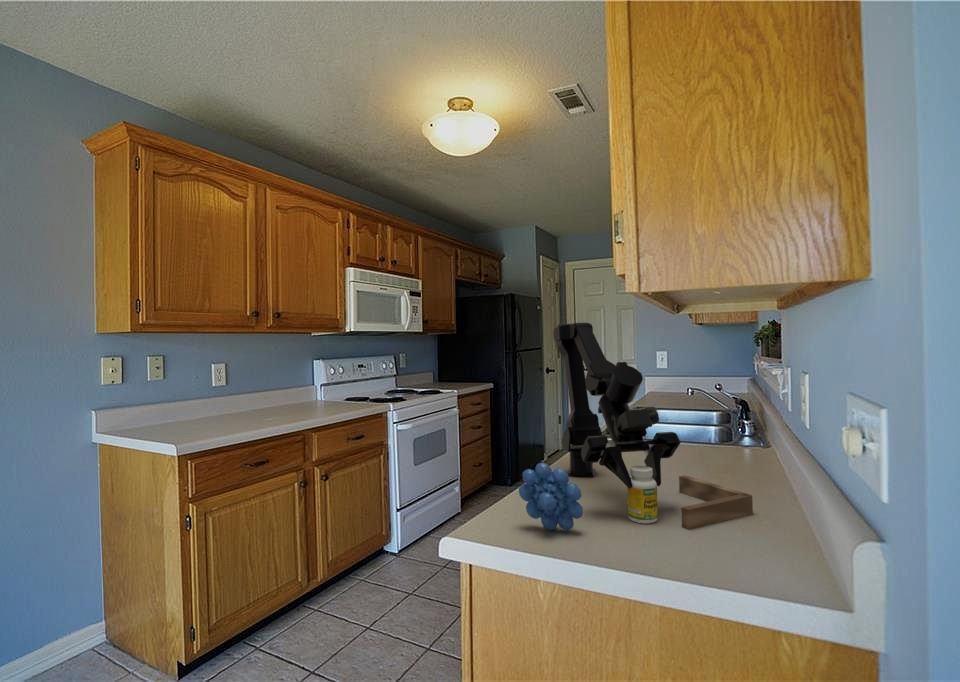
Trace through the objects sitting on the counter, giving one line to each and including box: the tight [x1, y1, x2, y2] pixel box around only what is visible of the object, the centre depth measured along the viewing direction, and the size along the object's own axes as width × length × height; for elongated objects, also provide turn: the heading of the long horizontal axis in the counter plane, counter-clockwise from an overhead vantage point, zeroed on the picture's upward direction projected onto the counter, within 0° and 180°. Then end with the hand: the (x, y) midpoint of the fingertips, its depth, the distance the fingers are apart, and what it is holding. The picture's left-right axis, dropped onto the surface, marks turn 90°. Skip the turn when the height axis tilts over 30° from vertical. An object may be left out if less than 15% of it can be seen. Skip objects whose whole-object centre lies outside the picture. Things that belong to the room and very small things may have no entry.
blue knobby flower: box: [518, 462, 584, 531], centre depth 87 cm, size 12×7×12 cm, turn 70°
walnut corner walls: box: [678, 474, 754, 531], centre depth 97 cm, size 16×17×4 cm
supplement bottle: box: [626, 465, 659, 525], centre depth 92 cm, size 5×5×10 cm
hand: (645, 486), depth 91 cm, fingers closed on supplement bottle, 5 cm apart
